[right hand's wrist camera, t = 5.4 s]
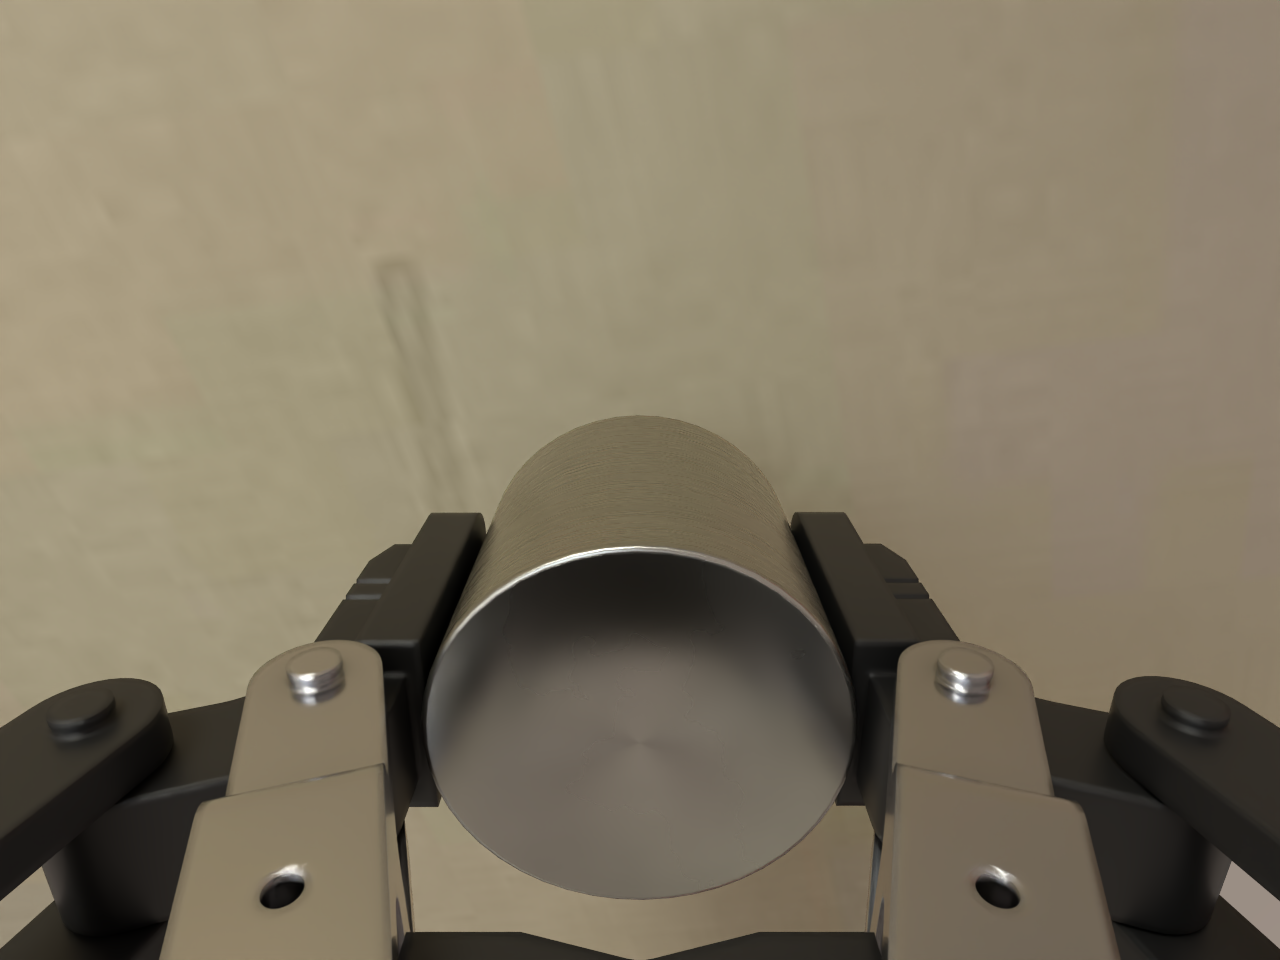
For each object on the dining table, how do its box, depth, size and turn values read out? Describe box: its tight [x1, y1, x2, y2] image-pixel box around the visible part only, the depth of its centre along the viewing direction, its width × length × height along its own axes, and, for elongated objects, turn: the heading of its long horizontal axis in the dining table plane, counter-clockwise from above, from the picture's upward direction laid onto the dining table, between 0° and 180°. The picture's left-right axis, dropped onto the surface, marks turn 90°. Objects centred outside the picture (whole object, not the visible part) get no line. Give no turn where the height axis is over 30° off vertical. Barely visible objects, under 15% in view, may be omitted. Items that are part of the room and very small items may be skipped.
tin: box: [421, 416, 857, 900], centre depth 10 cm, size 5×5×4 cm
